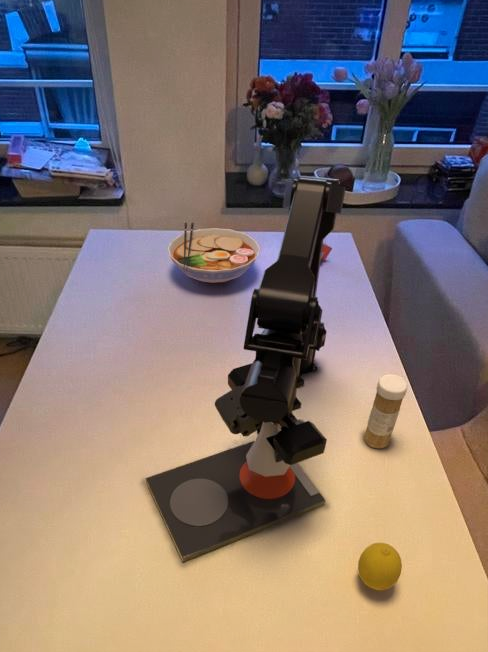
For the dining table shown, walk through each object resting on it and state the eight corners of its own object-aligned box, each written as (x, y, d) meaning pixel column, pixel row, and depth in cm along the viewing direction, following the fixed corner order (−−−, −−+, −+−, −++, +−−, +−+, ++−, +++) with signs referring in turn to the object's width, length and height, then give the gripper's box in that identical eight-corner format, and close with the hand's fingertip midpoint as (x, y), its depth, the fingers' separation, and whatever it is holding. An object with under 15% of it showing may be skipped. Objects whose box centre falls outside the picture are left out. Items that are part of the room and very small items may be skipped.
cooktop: (274, 438, 93) (275, 432, 92) (324, 504, 83) (325, 499, 82) (146, 482, 86) (145, 476, 85) (182, 562, 75) (182, 556, 74)
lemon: (349, 565, 75) (359, 533, 69) (386, 562, 75) (400, 530, 70) (359, 601, 71) (371, 571, 65) (399, 598, 71) (414, 568, 66)
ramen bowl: (260, 301, 125) (262, 270, 120) (164, 300, 125) (162, 269, 120) (257, 252, 143) (258, 223, 138) (173, 251, 143) (171, 222, 138)
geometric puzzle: (338, 249, 140) (323, 224, 137) (334, 261, 135) (319, 235, 132) (315, 261, 144) (300, 236, 141) (310, 273, 140) (295, 248, 136)
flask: (289, 481, 79) (295, 435, 72) (242, 474, 80) (243, 428, 73) (294, 446, 84) (299, 400, 78) (249, 440, 85) (251, 394, 79)
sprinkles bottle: (378, 428, 95) (395, 370, 86) (394, 444, 92) (414, 386, 83) (357, 435, 94) (373, 377, 84) (373, 453, 91) (391, 394, 81)
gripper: (194, 346, 73) (197, 425, 84) (256, 434, 61) (251, 512, 72) (264, 327, 77) (259, 405, 88) (336, 407, 65) (319, 485, 76)
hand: (269, 448), depth 81 cm, fingers closed on flask, 5 cm apart
